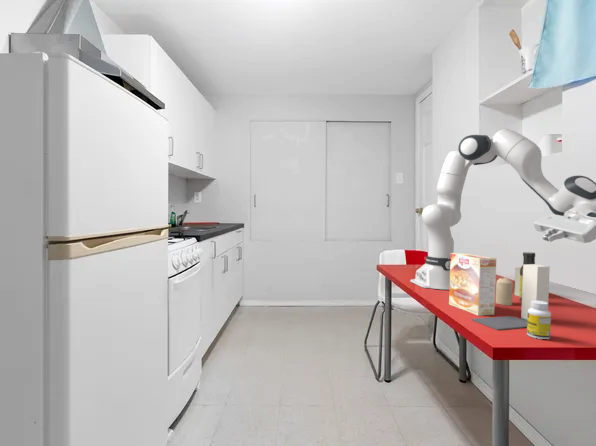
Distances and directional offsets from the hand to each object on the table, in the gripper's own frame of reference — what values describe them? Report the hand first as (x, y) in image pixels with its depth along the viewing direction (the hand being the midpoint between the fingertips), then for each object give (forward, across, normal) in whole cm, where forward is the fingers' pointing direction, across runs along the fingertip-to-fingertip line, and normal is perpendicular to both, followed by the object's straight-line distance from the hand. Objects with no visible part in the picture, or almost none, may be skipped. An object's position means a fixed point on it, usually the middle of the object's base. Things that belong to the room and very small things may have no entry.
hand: (546, 239), depth 120 cm
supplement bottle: (+29, +23, +9) cm, 38 cm away
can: (-1, -22, +36) cm, 42 cm away
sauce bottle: (+7, -11, +29) cm, 32 cm away
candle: (+16, -11, +24) cm, 31 cm away
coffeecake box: (+32, -5, +13) cm, 35 cm away
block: (+20, +10, +17) cm, 28 cm away
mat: (+30, +11, +11) cm, 34 cm away
